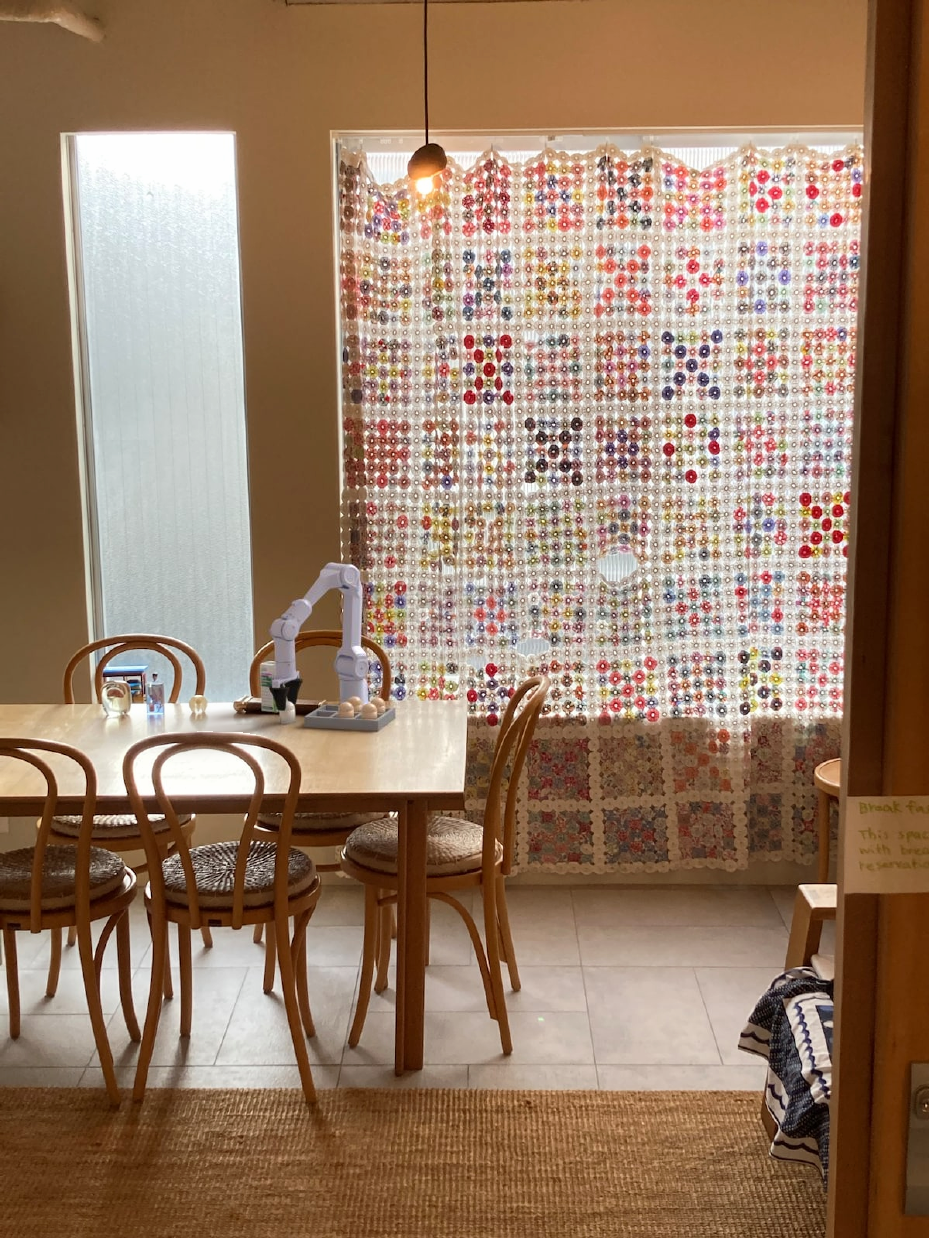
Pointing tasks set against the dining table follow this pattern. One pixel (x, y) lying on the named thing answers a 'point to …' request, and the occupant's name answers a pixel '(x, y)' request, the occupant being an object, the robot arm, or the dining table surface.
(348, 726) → the egg carton
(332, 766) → the dining table surface
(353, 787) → the dining table surface
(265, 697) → the syrup box
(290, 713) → the white egg
